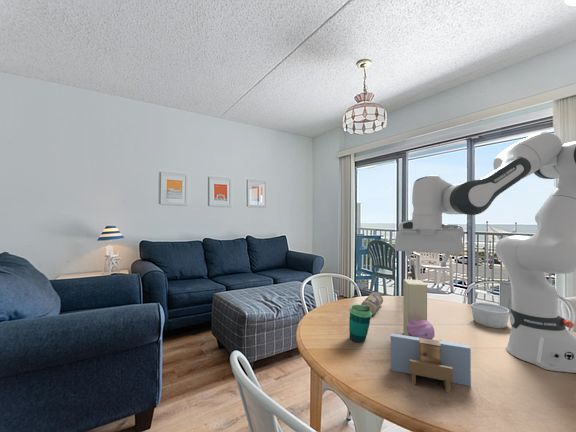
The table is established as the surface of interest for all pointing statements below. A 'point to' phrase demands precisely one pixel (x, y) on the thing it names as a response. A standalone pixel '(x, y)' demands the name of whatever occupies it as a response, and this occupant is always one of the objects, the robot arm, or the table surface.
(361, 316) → the cup
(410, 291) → the toy refrigerator
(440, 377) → the wall board
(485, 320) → the ramekin
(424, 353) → the tan wooden cube
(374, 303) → the decorative bottle
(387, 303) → the table surface
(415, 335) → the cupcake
